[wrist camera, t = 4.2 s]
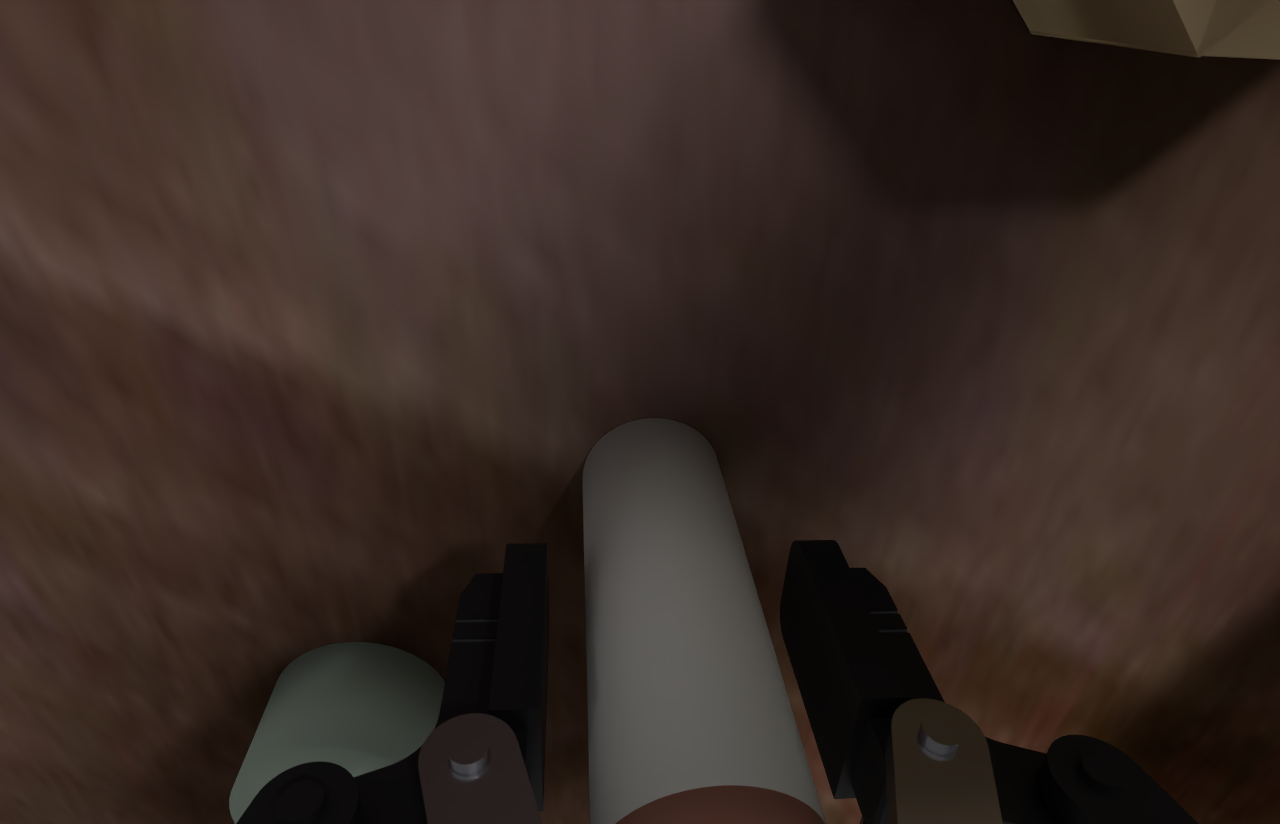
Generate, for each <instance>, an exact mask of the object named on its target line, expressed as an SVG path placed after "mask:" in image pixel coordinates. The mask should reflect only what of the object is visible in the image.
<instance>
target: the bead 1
mask: <svg viewBox="0 0 1280 824" xmlns="http://www.w3.org/2000/svg"><path fill="white" fill-rule="evenodd" d="M444 685H445V681H444V679H443V678H442V677H441V676H440V675H439V673H438V672H437V671H436V670H435V669H434V668H432V667H431V666H430V665H429V664H428V663H426V662H425V661H423V660H422V659H420V658H418V657H416V656H415V655H413V654H411V653H408V652H406V651H403V650H401V649H398V648H395V647H391V646H387V645H382V644H378V643H369V642H343V643H336V644H330V645H326V646H322V647H318V648H316V649H313V650H311V651H308V652H306V653H304V654H303V655H301V656H299V657H298V658H296V659H295V660H293V661H292V662H291V663H290V664H289V665H288V666H287V667H286V668H285V669H284V670H283V672H282V673H281V674H280V676H279V678H278V680H277V682H276V685H275V687H274V689H273V692H272V694H271V697H270V699H269V701H268V704H267V706H266V709H265V711H264V713H263V716H262V718H261V721H260V723H259V725H258V728H257V730H256V733H255V735H254V737H253V740H252V742H251V745H250V747H249V750H248V752H247V754H246V757H245V759H244V762H243V764H242V766H241V769H240V771H239V774H238V776H237V778H236V781H235V783H234V786H233V788H232V790H231V794H230V798H229V809H230V813H231V816H232V819H233V821H234V823H235V824H236V823H237V822H238V820H239V819H240V817H241V816H242V815H243V813H244V812H245V810H246V809H247V807H248V806H249V805H250V803H251V802H252V800H253V799H254V797H255V796H256V795H257V794H258V792H259V791H260V790H261V789H262V788H263V787H264V786H265V785H266V784H267V783H268V782H269V781H270V780H272V779H273V778H274V777H276V776H277V775H279V774H280V773H282V772H284V771H285V770H287V769H290V768H292V767H294V766H297V765H300V764H304V763H309V762H319V761H324V762H331V763H334V764H337V765H340V766H342V767H343V768H345V769H346V770H348V771H349V772H350V773H351V774H352V776H353V777H356V776H359V775H362V774H365V773H368V772H371V771H374V770H377V769H380V768H383V767H386V766H389V765H392V764H394V763H397V762H399V761H401V760H402V759H404V758H406V757H408V756H409V755H411V754H412V753H413V752H415V751H416V750H417V749H418V748H419V747H421V746H422V745H423V743H424V742H425V740H426V739H427V737H428V736H429V735H430V733H431V732H432V731H433V730H434V728H435V726H436V724H437V721H438V717H439V713H440V707H441V701H442V696H443V690H444Z"/></svg>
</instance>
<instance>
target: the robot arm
mask: <svg viewBox="0 0 1280 824" xmlns="http://www.w3.org/2000/svg"><path fill="white" fill-rule="evenodd" d="M780 624H781V631H782V636H783V639H784V642H785V645H786V649H787V652H788V655H789V658H790V661H791V664H792V668H793V671H794V674H795V677H796V680H797V683H798V686H799V690H800V693H801V696H802V699H803V702H804V705H805V709H806V712H807V715H808V718H809V721H810V724H811V727H812V731H813V734H814V737H815V740H816V743H817V746H818V750H819V753H820V756H821V759H822V762H823V765H824V768H825V772H826V775H827V778H828V781H829V784H830V787H831V791H832V794H833V797H834V799H843V798H856V799H857V802H858V805H859V808H860V811H861V813H862V817H861V821H860V824H1198V823H1197V822H1196V821H1195V820H1194V819H1193V818H1192V817H1191V816H1190V815H1189V814H1188V813H1187V812H1186V811H1185V810H1184V809H1183V808H1182V807H1181V806H1180V805H1179V804H1178V803H1177V802H1176V801H1174V800H1173V799H1172V798H1171V797H1170V796H1169V795H1168V794H1167V793H1166V792H1165V791H1164V790H1163V789H1162V788H1161V787H1160V786H1159V785H1158V784H1157V783H1156V782H1155V781H1154V780H1153V779H1152V778H1151V777H1150V776H1149V775H1148V774H1147V773H1146V772H1145V771H1144V770H1142V769H1141V768H1140V767H1139V766H1138V765H1137V764H1136V763H1135V762H1134V761H1133V760H1132V759H1131V758H1130V757H1128V756H1127V755H1126V754H1124V753H1123V752H1122V751H1120V750H1119V749H1117V748H1115V747H1114V746H1112V745H1110V744H1108V743H1106V742H1104V741H1102V740H1099V739H1096V738H1093V737H1088V736H1084V735H1067V736H1063V737H1060V738H1058V739H1056V740H1055V741H1054V742H1053V743H1052V744H1051V746H1050V748H1049V749H1048V752H1047V754H1045V753H1041V752H1037V751H1033V750H1029V749H1025V748H1021V747H1017V746H1013V745H1009V744H1005V743H1001V742H998V741H995V740H992V739H990V738H987V737H985V736H984V734H983V732H982V731H981V729H980V728H979V727H978V725H977V724H976V723H975V722H974V721H973V720H972V719H971V718H970V717H969V716H968V715H966V714H965V713H964V712H962V711H961V710H959V709H957V708H956V707H954V706H952V705H950V704H947V703H945V701H944V700H943V698H942V696H941V694H940V692H939V690H938V688H937V686H936V684H935V682H934V680H933V678H932V676H931V674H930V672H929V671H928V669H927V667H926V665H925V663H924V661H923V659H922V657H921V655H920V653H919V651H918V649H917V647H916V645H915V643H914V641H913V639H912V637H911V635H910V633H907V627H906V625H905V623H904V621H903V620H902V618H901V616H900V614H898V613H897V608H896V606H895V604H894V602H893V600H892V598H891V596H890V594H889V592H888V590H887V588H886V587H885V586H884V585H883V584H882V583H881V582H880V581H879V580H878V579H877V578H875V577H874V576H873V575H872V574H871V573H870V572H869V571H868V570H867V569H866V568H849V566H848V564H847V562H846V560H845V557H844V555H843V553H842V551H841V549H840V547H839V545H838V543H837V542H836V541H835V540H801V541H794V542H793V543H792V545H791V548H790V553H789V559H788V564H787V569H786V575H785V580H784V586H783V591H782V597H781V603H780ZM548 646H549V581H548V543H537V544H507V546H506V554H505V563H504V572H503V573H491V574H476V575H475V576H474V577H473V579H472V580H471V581H470V583H469V584H468V585H467V587H466V588H465V589H464V591H463V592H462V593H461V595H460V600H459V605H458V611H457V617H456V624H455V628H454V634H453V643H452V645H451V651H450V656H449V662H448V668H447V673H446V679H445V685H444V690H443V696H442V701H441V707H440V713H439V717H438V721H437V724H436V726H435V728H434V730H433V731H432V732H431V733H430V735H429V736H428V737H427V739H426V740H425V742H424V743H423V745H422V746H421V747H419V748H418V749H417V750H416V751H415V752H413V753H412V754H411V755H409V756H408V757H406V758H404V759H402V760H401V761H399V762H397V763H394V764H392V765H389V766H386V767H383V768H380V769H377V770H374V771H371V772H368V773H365V774H362V775H359V776H356V777H353V776H352V774H351V773H350V772H349V771H348V770H346V769H345V768H343V767H342V766H340V765H337V764H334V763H331V762H324V761H319V762H309V763H304V764H300V765H297V766H294V767H292V768H290V769H287V770H285V771H284V772H282V773H280V774H279V775H277V776H276V777H274V778H273V779H272V780H270V781H269V782H268V783H267V784H266V785H265V786H264V787H263V788H262V789H261V790H260V791H259V792H258V794H257V795H256V796H255V797H254V799H253V800H252V802H251V803H250V805H249V806H248V807H247V809H246V810H245V812H244V813H243V815H242V816H241V817H240V819H239V820H238V822H237V823H236V824H543V823H542V820H541V817H540V813H539V811H543V796H544V766H545V736H546V706H547V676H548Z"/></svg>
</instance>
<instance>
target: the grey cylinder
mask: <svg viewBox="0 0 1280 824" xmlns="http://www.w3.org/2000/svg"><path fill="white" fill-rule="evenodd" d="M582 483H583V528H584V573H585V618H586V663H587V708H588V753H589V797H590V824H826V822H825V819H824V815H823V812H822V808H821V805H820V802H819V798H818V795H817V792H816V788H815V785H814V782H813V778H812V775H811V772H810V768H809V765H808V762H807V758H806V755H805V751H804V748H803V745H802V741H801V738H800V735H799V731H798V728H797V725H796V721H795V718H794V715H793V711H792V708H791V705H790V701H789V698H788V694H787V691H786V688H785V684H784V681H783V678H782V674H781V671H780V668H779V664H778V661H777V658H776V654H775V651H774V648H773V644H772V641H771V637H770V634H769V631H768V627H767V624H766V621H765V617H764V614H763V611H762V607H761V604H760V601H759V597H758V594H757V591H756V587H755V584H754V580H753V577H752V574H751V570H750V567H749V564H748V560H747V557H746V554H745V550H744V547H743V544H742V540H741V537H740V534H739V530H738V527H737V523H736V520H735V517H734V513H733V510H732V507H731V503H730V500H729V497H728V493H727V490H726V487H725V483H724V480H723V477H722V473H721V470H720V466H719V463H718V460H717V456H716V454H715V452H714V449H713V447H712V446H711V444H710V443H709V442H708V440H707V439H706V438H705V437H704V436H703V435H702V434H701V433H699V432H698V431H697V430H695V429H694V428H692V427H690V426H688V425H686V424H684V423H682V422H678V421H675V420H671V419H665V418H645V419H639V420H634V421H631V422H627V423H625V424H622V425H620V426H618V427H616V428H614V429H613V430H611V431H610V432H608V433H607V434H605V435H604V436H603V437H602V438H601V439H600V440H599V441H598V442H597V443H596V444H595V445H594V447H593V448H592V449H591V451H590V453H589V454H588V456H587V459H586V461H585V464H584V468H583V476H582Z"/></svg>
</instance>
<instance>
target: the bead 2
mask: <svg viewBox="0 0 1280 824" xmlns="http://www.w3.org/2000/svg"><path fill="white" fill-rule="evenodd" d="M1013 2H1014V4H1015V6H1016V7H1017V9H1018V11H1019V13H1020V15H1021V16H1022V18H1023V20H1024V22H1025V23H1026V25H1027V27H1028V29H1029V30H1030V31H1029V33H1031V34H1035V35H1042V36H1049V37H1056V38H1063V39H1070V40H1077V41H1084V42H1092V43H1099V44H1106V45H1113V46H1120V47H1127V48H1134V49H1141V50H1148V51H1155V52H1163V53H1170V54H1177V55H1184V56H1191V57H1198V58H1199V57H1201V56H1214V57H1236V58H1257V59H1279V60H1280V0H1013Z"/></svg>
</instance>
